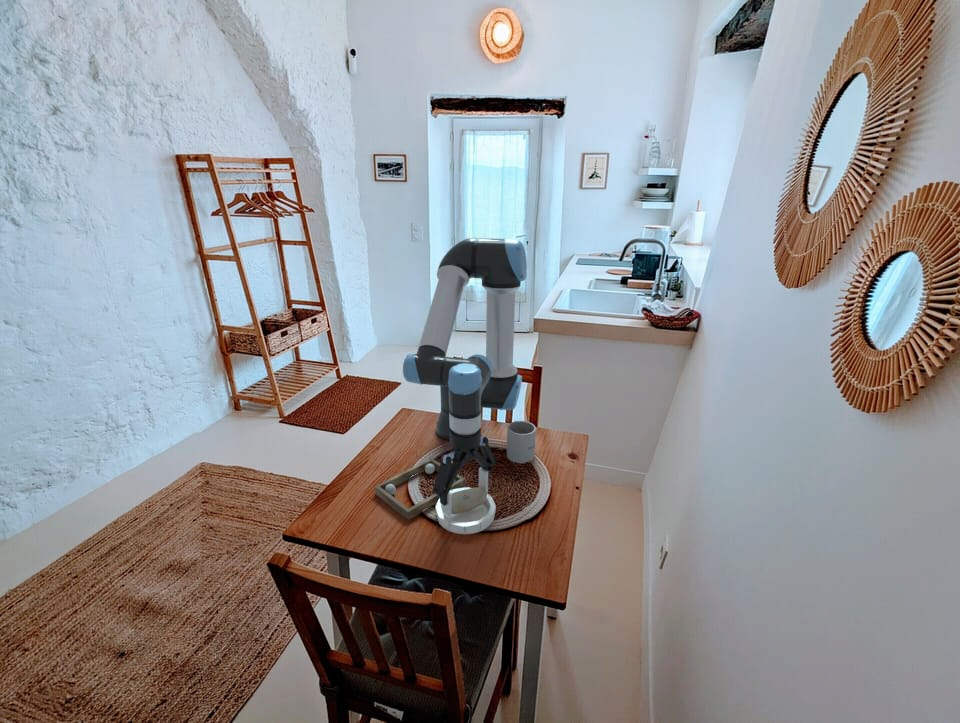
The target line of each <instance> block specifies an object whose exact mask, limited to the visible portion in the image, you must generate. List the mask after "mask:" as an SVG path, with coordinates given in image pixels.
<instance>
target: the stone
mask: <svg viewBox="0 0 960 723" xmlns="http://www.w3.org/2000/svg"><path fill="white" fill-rule="evenodd" d="M469 488H470V489H465V490H461V491H458V492H455V493H453V494H451V505H452V514H460V513H464V512H467V511H470V510H472V509H474V508H476V507H478V506H480V505H481V504H482V503H484V501H485V500H486V498H487V494H488V492H487V491H486V490H485V489H483V488H479V487H469Z"/></svg>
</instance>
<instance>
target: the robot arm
mask: <svg viewBox="0 0 960 723" xmlns="http://www.w3.org/2000/svg"><path fill="white" fill-rule="evenodd" d="M436 277H437V283H436V288H435V291H434V294H433V298H432V301H431V305H430V306H429V311H428V315H427V317H426V321H425V323H424V324H425V325H424V328H423V331H422V334H421V338H420V342H419V344H418V345H419V346H418V348H417V351H416V353H408V354H407V355H406V357H404V360H403V365H402V374H403V377H404V380H405V381H406V382H408V383H410V384H411V383H412V384H417V385H420V386H421V385H422V386H423V385H428V386H429V385H430V386H440V387H439V389H440V390H439V391H440V412H439V415H438V420H437V422H436V425H435V426H436V428H435V429H436V434H437V436H439V437H440V438H441V439H444V440H446V441H449V443H450V445H451V450H450V452H449V453H442V454H441V456H440V467H439V470H438V472H437V475H436V478H435V481H434V485H433V488H432V492H433V494H437V495H438V496H440V503H441V504H442V512H444V513H445V514H446V515H448V516H449V517H450V516H451V515H452V505H451V493H450V492H449V491H450V489H451V487H452V485H453V483H454V480H455V478H456V476H457V474H458V475H459V472H460V470H462V469H463V467H464V465H466V464H468V463H469V462H471V461H473V459H474V460H475V461H476V463H478V465H479V466H480V467H479V468H478V488H483V489H485V490H486V491H487V493H488V492H489V479H490V472H493V470H494V467H493V466H495V465H496V462H497V461H496V459H495V457H494V455H493V453H492V452H493V451H492V450H491V447H490V444H489V438H488V436H487V437H486V436H485V435H483V434H482V429H481V427H482V408H484V409H493V410H500V411H503V410H504V411H512V410H514V409H515V408H516V406H517V403H518V400H519V396H520V392H521V387H522V382H523V376H522V375H520V374H518V368H517V367H516V366H515V365H514V341H515V340H514V339H515V335H514V334H515V311H516V310H515V308H516V292H517V291H518V290H519V289H520V287H521V286H522V285H521V284H522V282H523V281H526V279H527V256H526V249H525V246H524V244H523V242H522V241H521V240H519V239H512V238H491V237H490V238H487V237H485V238H484V237H469V238H468V237H467V238H465V239H463V240H461V241H459V242H458V243H456V244H455V245H453V246H452V247H451V248H450V249H449V250H448V251H447V252H446V254H445V255H443V257H442V259H441V261H440V262H439V265H438V268H437V271H436ZM470 279H480V280H481V287H482V288H483V289H484V290H485V291H486V315H485V316H486V317H485V318H486V325H485V326H486V328H485V329H486V332H485V338H486V339H485V341H486V342H485V355H483V354H478V353H477V354H474V355H471V356H469V357H468V358H463V357H460V358H459V357H449V356H447V353H448V352H447V351H448V349H449V348H448V347H449V344H450V341H451V337H452V333H453V329H454V325H455V323H456V318H457V315H458V310H459V307H460V302H461V299H462V295H463V292H464V288H465V287H466V286H468V284H469V282H470ZM479 448H480V451H481V453H482V455H483V457H482V455H481V454H480V452H478V450H479ZM457 463H458V464H457Z"/></svg>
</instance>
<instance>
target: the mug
mask: <svg viewBox="0 0 960 723" xmlns="http://www.w3.org/2000/svg"><path fill="white" fill-rule="evenodd" d="M536 430H537V427H536V425H534V424H533V423H532V422H530V421H525V420H516V421H513V422H510V423H509V424H508V425H507V431H506V432H507V435H506V438H507V440H506V441H507V442H506V458H507V459H508V460H509V461H510V462H513V463H515V462H516V463H517V464H527V463H526V462H528V461H530V460H531V459H533V457H534V458H535V448H536V435H537V434H536V432H537V431H536ZM533 460H534V459H533ZM530 462H531V461H530ZM516 463H515V464H516ZM528 463H529V462H528Z"/></svg>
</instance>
